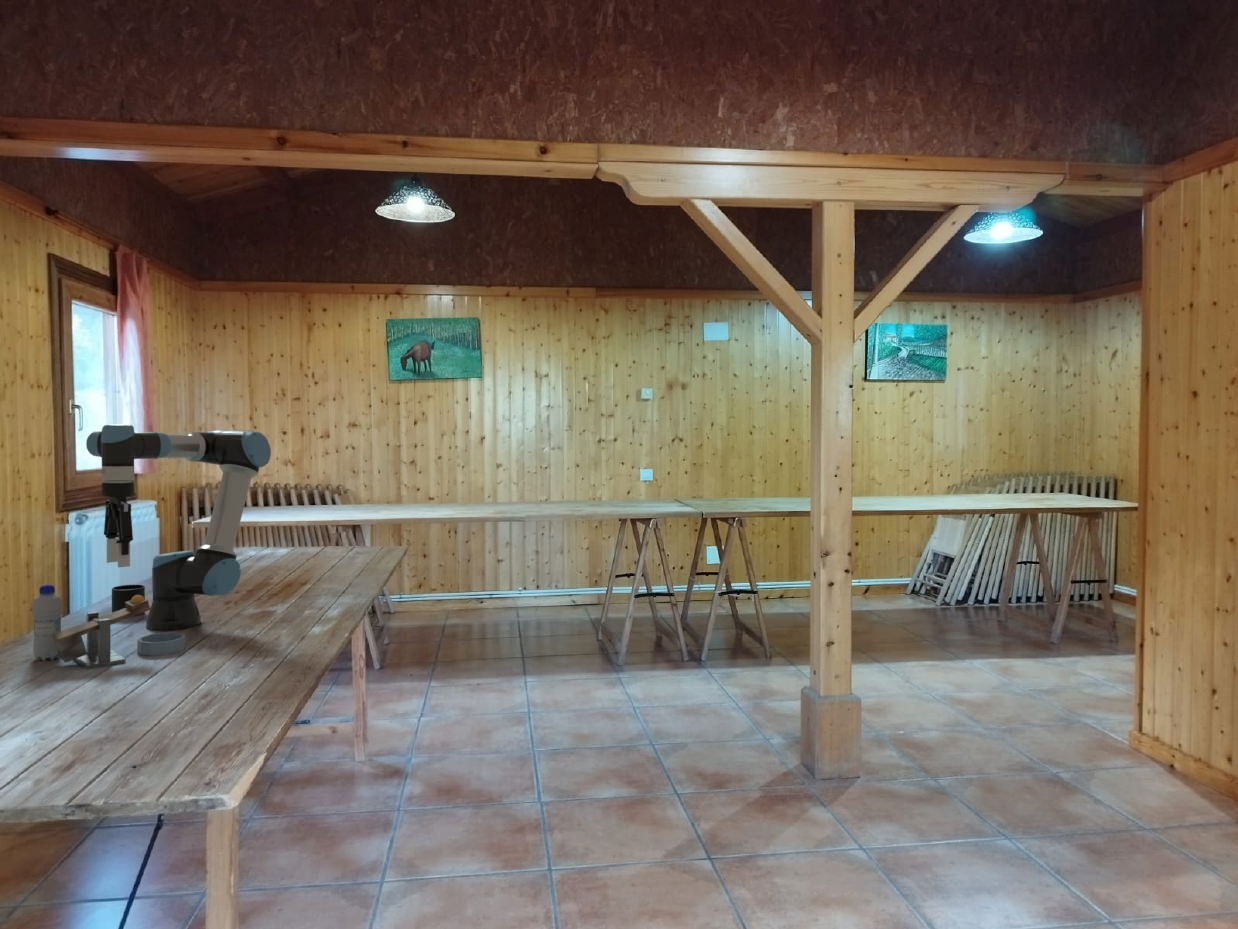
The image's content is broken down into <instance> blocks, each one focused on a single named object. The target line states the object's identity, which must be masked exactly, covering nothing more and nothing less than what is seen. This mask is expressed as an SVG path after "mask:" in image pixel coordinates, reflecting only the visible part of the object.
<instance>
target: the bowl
mask: <svg viewBox="0 0 1238 929" xmlns="http://www.w3.org/2000/svg"><path fill="white" fill-rule="evenodd" d="M136 644H137V653H138V654H139V655H141V656H142V655H143V656H163V655H164V656H165V655H170V654H175V653H178V652H181V651H184V649H185V648H186V634H184V633H181V632H174V631H170V632H158V633H152V634H150V633H149V634H146V635H144V636H140V637H139V638H138V639H137V643H136Z"/></svg>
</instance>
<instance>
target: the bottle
mask: <svg viewBox="0 0 1238 929" xmlns="http://www.w3.org/2000/svg"><path fill="white" fill-rule="evenodd" d="M55 589H56V588H55V586H54V585H53V584H45V585H41V586H40V587H39V590H38V591H39V595H38V596H35V597H34V598H33V602H32V603H33V604H32V609H31V612H32V617H33V646H32V647H33V649H32V650H33V652H32V653H33V656H34V658H35V660H36V661H42V662H43V661H44V662H45V661H47V658H48V657H49V659H50V661H52V660H54V659H58V658H60V657H59V654H58V651H57V649H56V646H55V643H54V640H53V637H52V634H55V633H58V632H61V631H62V616H61V615H62V613H63V603H62V602H63V601H62V597H61V595H58V594H57V593H55V592H56V590H55Z"/></svg>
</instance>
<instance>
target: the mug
mask: <svg viewBox="0 0 1238 929" xmlns="http://www.w3.org/2000/svg"><path fill="white" fill-rule="evenodd" d="M145 593H146V586H145V585H143V584H142V585H141V584H124V585H118V586H117V585H116V586H114V587H112V588H111V613H113V612H116V611H118V610H121V609H124V608H126V605H125V602H127V601H130V600H131V599H132V597H134V596H135V595H141V596H143V597H144V601H145V600H146V594H145ZM144 614H145V612H143V613H141V614H138V615H135V616H134V617H136V616H137V617H138V616H141V615H144Z"/></svg>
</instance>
